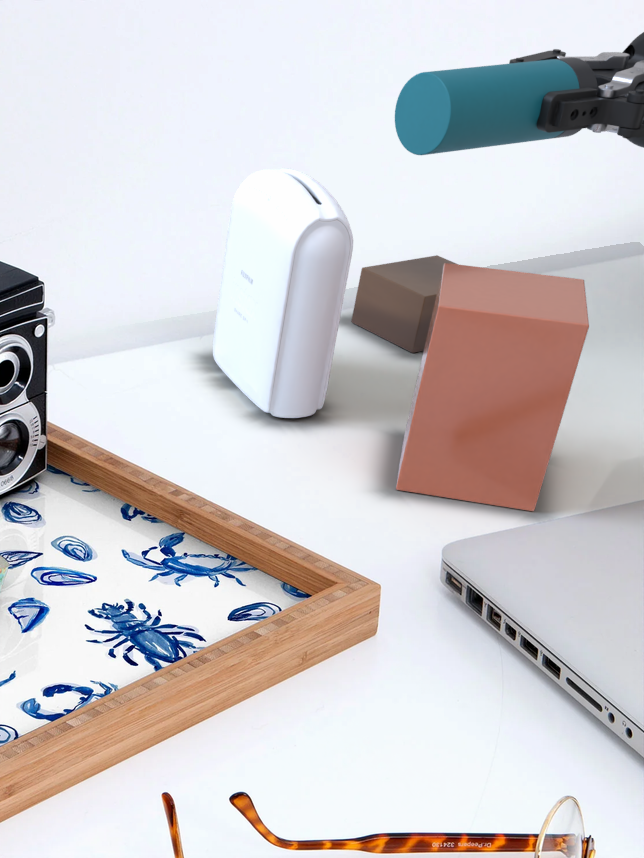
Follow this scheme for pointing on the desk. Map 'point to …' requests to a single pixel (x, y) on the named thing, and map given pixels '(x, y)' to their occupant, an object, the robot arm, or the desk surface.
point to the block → (399, 300)
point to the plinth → (493, 385)
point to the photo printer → (282, 291)
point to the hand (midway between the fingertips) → (513, 103)
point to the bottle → (483, 104)
